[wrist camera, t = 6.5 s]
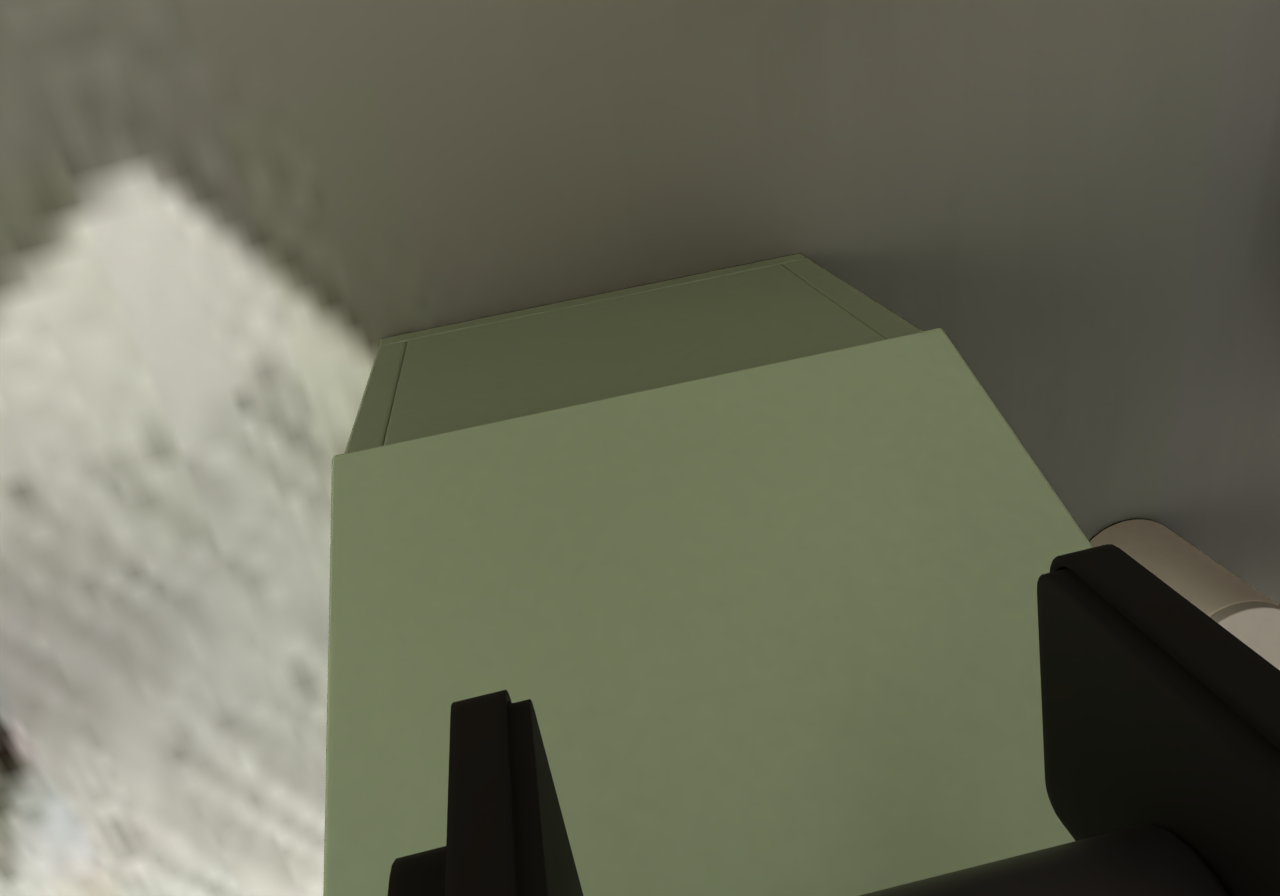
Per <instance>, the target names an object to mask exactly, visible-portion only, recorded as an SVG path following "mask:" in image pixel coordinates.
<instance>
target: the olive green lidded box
mask: <svg viewBox="0 0 1280 896" xmlns="http://www.w3.org/2000/svg"><path fill="white" fill-rule="evenodd" d="M917 332H922V331H921V330H920V329H918V328H916V327H915V326H913V325H912V324H910V323H908V322H907V321H905V320H904V319H902V318H901V317H899V316H897V315H896V314H894V313H893V312H891V311H890V310H888V309H886V308H885V307H883V306H882V305H880V304H879V303H877V302H875V301H874V300H872V299H871V298H869V297H868V296H866V295H864V294H863V293H861V292H860V291H858V290H857V289H855V288H853V287H852V286H850V285H849V284H847V283H845V282H844V281H842V280H841V279H839V278H838V277H836V276H834V275H833V274H831V273H830V272H828V271H827V270H825V269H823V268H822V267H820V266H819V265H817V264H816V263H814V262H812V261H811V260H809V259H807V258H806V257H804V256H803V255H801V254H794V255H790V256H785V257H780V258H775V259H770V260H765V261H760V262H755V263H750V264H745V265H741V266H736V267H731V268H726V269H721V270H716V271H711V272H706V273H701V274H696V275H691V276H687V277H682V278H677V279H672V280H667V281H662V282H657V283H652V284H647V285H642V286H638V287H633V288H628V289H623V290H618V291H613V292H608V293H603V294H598V295H593V296H588V297H584V298H579V299H574V300H569V301H564V302H559V303H554V304H549V305H544V306H539V307H535V308H530V309H525V310H520V311H515V312H510V313H505V314H500V315H495V316H490V317H485V318H481V319H476V320H471V321H466V322H461V323H456V324H451V325H446V326H441V327H436V328H432V329H427V330H422V331H417V332H412V333H407V334H402V335H397V336H392V337H387V338H383V339H381V341H380V344H379V348H378V351H377V354H376V358H375V361H374V364H373V367H372V370H371V373H370V376H369V379H368V382H367V385H366V388H365V391H364V395H363V398H362V401H361V404H360V407H359V410H358V413H357V416H356V419H355V422H354V425H353V428H352V432H351V435H350V438H349V441H348V444H347V447H346V450H345V453H350V452H354V451H359V450H364V449H369V448H373V447H378V446H383V445H388V444H392V443H397V442H402V441H406V440H411V439H416V438H421V437H425V436H430V435H435V434H440V433H444V432H449V431H454V430H459V429H463V428H468V427H473V426H477V425H482V424H487V423H492V422H496V421H501V420H506V419H511V418H515V417H520V416H525V415H529V414H534V413H539V412H544V411H548V410H553V409H558V408H563V407H567V406H572V405H577V404H582V403H586V402H591V401H596V400H600V399H605V398H610V397H615V396H619V395H624V394H629V393H634V392H638V391H643V390H648V389H652V388H657V387H662V386H667V385H671V384H676V383H681V382H686V381H690V380H695V379H700V378H705V377H709V376H714V375H719V374H723V373H728V372H733V371H738V370H742V369H747V368H752V367H757V366H761V365H766V364H771V363H775V362H780V361H785V360H790V359H794V358H799V357H804V356H809V355H813V354H818V353H823V352H828V351H832V350H837V349H842V348H846V347H851V346H856V345H861V344H865V343H870V342H875V341H880V340H884V339H889V338H894V337H898V336H903V335H908V334H913V333H917ZM345 453H344V454H345Z"/></svg>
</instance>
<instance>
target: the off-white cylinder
mask: <svg viewBox="0 0 1280 896" xmlns="http://www.w3.org/2000/svg"><path fill="white" fill-rule="evenodd" d="M1090 544H1091V545H1092V547H1097V546H1101V545H1106V544H1113V545H1115V546H1116V547H1118V548H1120V549H1121V550H1123V551H1124V552H1125V553H1127V554H1128V555H1129V556H1131V557H1132V558H1133V559H1134V560H1136V561H1137V562H1138V563H1140V564H1141V565H1142V566H1144V567H1145V568H1146V569H1148V570H1149V571H1150V572H1151V573H1153V574H1154V575H1155V576H1157V577H1158V578H1159V579H1161V580H1162V581H1163V582H1165V583H1166V584H1167V585H1168V586H1170V587H1171V588H1172V589H1174V590H1175V591H1176V592H1178V593H1179V594H1180V595H1182V596H1183V597H1184V598H1186V599H1187V600H1188V601H1189V602H1191V603H1192V604H1193V605H1195V606H1196V607H1197V608H1199V609H1200V610H1201V611H1203V612H1204V613H1205V614H1206V615H1208V616H1209V617H1210V618H1212V619H1213V620H1214V621H1216V622H1217V623H1218V624H1220V625H1221V626H1222V627H1223V628H1225V629H1226V630H1227V631H1229V632H1230V633H1231V634H1233V635H1234V636H1235V637H1237V638H1238V639H1239V640H1240V641H1242V642H1243V643H1244V644H1246V645H1247V646H1248V647H1250V648H1251V649H1252V650H1254V651H1255V652H1256V653H1258V654H1259V655H1260V656H1261V657H1263V658H1264V659H1265V660H1267V661H1268V662H1269V663H1271V664H1272V665H1273V666H1275V667H1276V668H1277V669H1278V670H1280V606H1279V605H1277V604H1276V603H1275V602H1273V601H1272V600H1270V599H1269V598H1267V597H1266V596H1265V595H1263V594H1262V593H1260V592H1259V591H1257V590H1256V589H1254V588H1253V587H1252V586H1250V585H1249V584H1247V583H1246V582H1244V581H1243V580H1241V579H1240V578H1239V577H1237V576H1236V575H1234V574H1233V573H1231V572H1230V571H1229V570H1227V569H1226V568H1224V567H1223V566H1221V565H1220V564H1218V563H1217V562H1216V561H1214V560H1213V559H1211V558H1210V557H1208V556H1207V555H1205V554H1204V553H1203V552H1201V551H1200V550H1198V549H1197V548H1195V547H1194V546H1193V545H1191V544H1190V543H1188V542H1187V541H1185V540H1184V539H1182V538H1181V537H1180V536H1178V535H1177V534H1175V533H1174V532H1172V531H1171V530H1169V529H1168V528H1167V527H1165V526H1163V525H1162V524H1160V523H1157V522H1155V521H1150V520H1143V519H1136V520H1128V521H1124V522H1120V523H1117V524H1115V525H1112V526H1110V527H1108V528H1107V529H1105V530H1103V531H1102V532H1100V533H1099V534H1098V535H1096V536H1095V537H1094V538H1093V539H1092V540H1091V541H1090Z"/></svg>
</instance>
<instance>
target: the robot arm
mask: <svg viewBox="0 0 1280 896" xmlns="http://www.w3.org/2000/svg"><path fill="white" fill-rule="evenodd" d="M1037 606H1038V629H1039V652H1040V676H1041V699H1042V722H1043V745H1044V769H1045V784H1046V790H1047V794H1048V797H1049V800H1050V802H1051V805H1052V807H1053V809H1054V811H1055V813H1056V815H1057V817H1058V818H1059V820H1060V821H1061V822H1062V824H1063V825H1064V826H1065V828H1066V829H1067V830H1068V832H1069V833H1070V834H1071V835H1072V837H1073V838H1074V839H1075V841H1078V840H1082V839H1086V838H1090V837H1094V836H1098V835H1102V834H1106V833H1110V832H1114V831H1118V830H1122V829H1126V828H1130V827H1134V826H1138V825H1152V826H1157V827H1161V828H1164V829H1166V830H1168V831H1170V832H1172V833H1174V834H1175V835H1177V836H1178V837H1180V838H1181V839H1182V840H1184V841H1185V842H1186V843H1187V844H1188V845H1189V846H1191V847H1192V848H1193V849H1194V850H1195V851H1196V852H1197V853H1198V854H1199V856H1200V857H1201V858H1202V859H1203V860H1204V861H1205V862H1206V864H1207V865H1208V866H1209V867H1210V868H1211V869H1212V871H1213V872H1214V873H1215V875H1216V876H1217V878H1218V879H1219V880H1220V882H1221V883H1222V884H1223V886H1224V887H1225V889H1226V890H1227V892H1228V894H1229V895H1230V896H1280V670H1278V669H1277V668H1276V667H1275V666H1273V665H1272V664H1271V663H1269V662H1268V661H1267V660H1265V659H1264V658H1263V657H1261V656H1260V655H1259V654H1258V653H1256V652H1255V651H1254V650H1252V649H1251V648H1250V647H1248V646H1247V645H1246V644H1244V643H1243V642H1242V641H1240V640H1239V639H1238V638H1237V637H1235V636H1234V635H1233V634H1231V633H1230V632H1229V631H1227V630H1226V629H1225V628H1223V627H1222V626H1221V625H1220V624H1218V623H1217V622H1216V621H1214V620H1213V619H1212V618H1210V617H1209V616H1208V615H1206V614H1205V613H1204V612H1203V611H1201V610H1200V609H1199V608H1197V607H1196V606H1195V605H1193V604H1192V603H1191V602H1189V601H1188V600H1187V599H1186V598H1184V597H1183V596H1182V595H1180V594H1179V593H1178V592H1176V591H1175V590H1174V589H1172V588H1171V587H1170V586H1168V585H1167V584H1166V583H1165V582H1163V581H1162V580H1161V579H1159V578H1158V577H1157V576H1155V575H1154V574H1153V573H1151V572H1150V571H1149V570H1148V569H1146V568H1145V567H1144V566H1142V565H1141V564H1140V563H1138V562H1137V561H1136V560H1134V559H1133V558H1132V557H1131V556H1129V555H1128V554H1127V553H1125V552H1124V551H1123V550H1121V549H1120V548H1118V547H1116V546H1115V545H1113V544H1106V545H1101V546H1097V547H1093V548H1089V549H1085V550H1081V551H1076V552H1072V553H1068V554H1064V555H1060V556H1057V557H1056V558H1054V559H1053V561H1052V563H1051V566H1050V573H1046V574H1042V575H1041V576H1040V577H1039V579H1038V582H1037ZM388 896H583V892H582V888H581V884H580V880H579V877H578V873H577V869H576V865H575V862H574V858H573V854H572V850H571V846H570V843H569V839H568V835H567V831H566V827H565V824H564V820H563V816H562V812H561V808H560V805H559V801H558V797H557V793H556V790H555V786H554V782H553V778H552V774H551V771H550V767H549V763H548V759H547V755H546V752H545V748H544V744H543V740H542V736H541V733H540V729H539V725H538V721H537V718H536V714H535V710H534V707H533V704H532V701H531V699H528V700H524V701H520V702H515V703H512V702H511V698H510V696H509V693H508V691H507V690H502V691H498V692H494V693H490V694H485V695H481V696H477V697H473V698H469V699H465V700H461V701H457V702H453V703H452V704H451V713H450V745H449V777H448V808H447V840H446V846H444V847H440V848H436V849H432V850H428V851H424V852H420V853H416V854H412V855H408V856H404V857H400V858H396V859H395V861H394V862H393V864H392V867H391V872H390V877H389V886H388Z"/></svg>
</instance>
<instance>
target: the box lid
mask: <svg viewBox="0 0 1280 896" xmlns="http://www.w3.org/2000/svg"><path fill="white" fill-rule="evenodd" d="M1089 548H1093V547H1092V545H1091V544H1090V542H1089V541H1088V539H1087V538H1086V536H1085V535H1084V534H1083V532H1082V531H1081V529H1080V528H1079V526H1078V525H1077V523H1076V522H1075V521H1074V519H1073V518H1072V516H1071V515H1070V513H1069V512H1068V510H1067V509H1066V507H1065V506H1064V505H1063V503H1062V502H1061V500H1060V499H1059V497H1058V496H1057V494H1056V493H1055V491H1054V490H1053V489H1052V487H1051V486H1050V484H1049V483H1048V481H1047V480H1046V478H1045V477H1044V476H1043V474H1042V473H1041V471H1040V470H1039V468H1038V467H1037V465H1036V464H1035V462H1034V461H1033V460H1032V458H1031V457H1030V455H1029V454H1028V452H1027V451H1026V449H1025V448H1024V447H1023V445H1022V444H1021V442H1020V441H1019V439H1018V438H1017V436H1016V435H1015V433H1014V432H1013V431H1012V429H1011V428H1010V426H1009V425H1008V423H1007V422H1006V420H1005V419H1004V417H1003V416H1002V415H1001V413H1000V412H999V410H998V409H997V407H996V406H995V404H994V403H993V402H992V400H991V399H990V397H989V396H988V394H987V393H986V391H985V390H984V388H983V387H982V386H981V384H980V383H979V381H978V380H977V378H976V377H975V375H974V374H973V373H972V371H971V370H970V368H969V367H968V365H967V364H966V362H965V361H964V359H963V358H962V357H961V355H960V354H959V352H958V351H957V349H956V348H955V346H954V345H953V343H952V342H951V341H950V339H949V338H948V336H947V335H946V333H945V332H944V330H943V329H941V328H936V329H932V330H927V331H922V332H917V333H913V334H908V335H903V336H898V337H894V338H889V339H884V340H880V341H875V342H870V343H865V344H861V345H856V346H851V347H846V348H842V349H837V350H832V351H828V352H823V353H818V354H813V355H809V356H804V357H799V358H794V359H790V360H785V361H780V362H775V363H771V364H766V365H761V366H757V367H752V368H747V369H742V370H738V371H733V372H728V373H723V374H719V375H714V376H709V377H705V378H700V379H695V380H690V381H686V382H681V383H676V384H671V385H667V386H662V387H657V388H652V389H648V390H643V391H638V392H634V393H629V394H624V395H619V396H615V397H610V398H605V399H600V400H596V401H591V402H586V403H582V404H577V405H572V406H567V407H563V408H558V409H553V410H548V411H544V412H539V413H534V414H529V415H525V416H520V417H515V418H511V419H506V420H501V421H496V422H492V423H487V424H482V425H477V426H473V427H468V428H463V429H459V430H454V431H449V432H444V433H440V434H435V435H430V436H425V437H421V438H416V439H411V440H406V441H402V442H397V443H392V444H388V445H383V446H378V447H373V448H369V449H364V450H359V451H354V452H350V453H345V454H340V455H336V456H334V457H333V459H332V493H331V544H330V594H329V644H328V695H327V745H326V795H325V846H324V896H388V886H389V877H390V872H391V867H392V864H393V862H394V861H395V859H396V858H400V857H404V856H408V855H412V854H416V853H420V852H424V851H428V850H432V849H436V848H440V847H444V846H446V840H447V808H448V777H449V745H450V713H451V704H452V703H453V702H457V701H461V700H465V699H469V698H473V697H477V696H481V695H485V694H490V693H494V692H498V691H502V690H507V691H508V693H509V696H510V698H511V702H512V703H515V702H520V701H524V700H528V699H531V701H532V704H533V707H534V710H535V714H536V718H537V721H538V725H539V729H540V733H541V736H542V740H543V744H544V748H545V752H546V755H547V759H548V763H549V767H550V771H551V774H552V778H553V782H554V786H555V790H556V793H557V797H558V801H559V805H560V808H561V812H562V816H563V820H564V824H565V827H566V831H567V835H568V839H569V843H570V846H571V850H572V854H573V858H574V862H575V865H576V869H577V873H578V877H579V880H580V884H581V888H582V892H583V896H1230V895H1229V894H1228V892H1227V890H1226V889H1225V887H1224V886H1223V884H1222V883H1221V882H1220V880H1219V879H1218V878H1217V876H1216V875H1215V873H1214V872H1213V871H1212V869H1211V868H1210V867H1209V866H1208V865H1207V864H1206V862H1205V861H1204V860H1203V859H1202V858H1201V857H1200V856H1199V854H1198V853H1197V852H1196V851H1195V850H1194V849H1193V848H1192V847H1191V846H1189V845H1188V844H1187V843H1186V842H1185V841H1184V840H1182V839H1181V838H1180V837H1178V836H1177V835H1175V834H1174V833H1172V832H1170V831H1168V830H1166V829H1164V828H1161V827H1157V826H1152V825H1138V826H1134V827H1130V828H1126V829H1122V830H1118V831H1114V832H1110V833H1106V834H1102V835H1098V836H1094V837H1090V838H1086V839H1082V840H1078V841H1075V839H1074V838H1073V837H1072V835H1071V834H1070V833H1069V832H1068V830H1067V829H1066V828H1065V826H1064V825H1063V824H1062V822H1061V821H1060V820H1059V818H1058V817H1057V815H1056V813H1055V811H1054V809H1053V807H1052V805H1051V802H1050V800H1049V797H1048V794H1047V790H1046V784H1045V769H1044V745H1043V722H1042V699H1041V676H1040V652H1039V629H1038V606H1037V582H1038V579H1039V577H1040V576H1041V575H1042V574H1046V573H1050V566H1051V563H1052V561H1053V559H1054V558H1056V557H1057V556H1060V555H1064V554H1068V553H1072V552H1076V551H1081V550H1085V549H1089Z"/></svg>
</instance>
